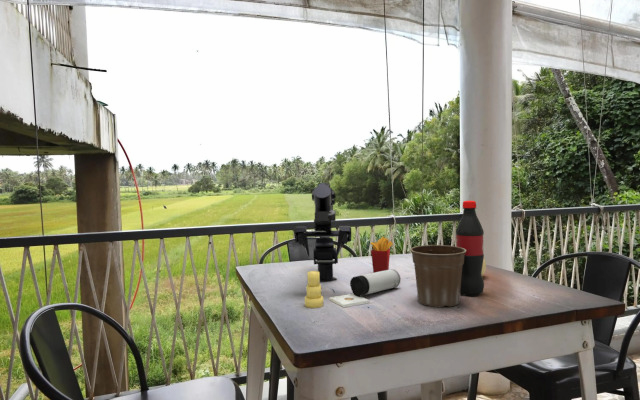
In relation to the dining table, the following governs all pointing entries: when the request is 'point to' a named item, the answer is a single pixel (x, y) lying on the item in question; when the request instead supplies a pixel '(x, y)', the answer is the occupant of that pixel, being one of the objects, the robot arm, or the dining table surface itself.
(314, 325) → the dining table surface
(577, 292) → the dining table surface
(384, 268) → the french fries
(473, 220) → the cola bottle
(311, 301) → the yellow domed knob
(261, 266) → the dining table surface
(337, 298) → the tile
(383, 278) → the travel mug
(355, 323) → the dining table surface
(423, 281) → the plant pot
